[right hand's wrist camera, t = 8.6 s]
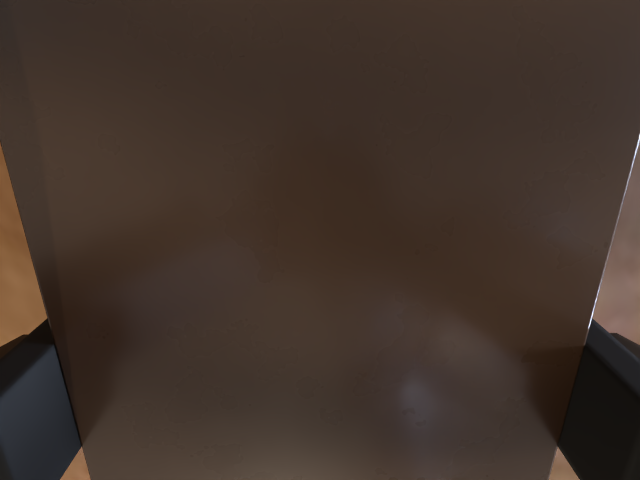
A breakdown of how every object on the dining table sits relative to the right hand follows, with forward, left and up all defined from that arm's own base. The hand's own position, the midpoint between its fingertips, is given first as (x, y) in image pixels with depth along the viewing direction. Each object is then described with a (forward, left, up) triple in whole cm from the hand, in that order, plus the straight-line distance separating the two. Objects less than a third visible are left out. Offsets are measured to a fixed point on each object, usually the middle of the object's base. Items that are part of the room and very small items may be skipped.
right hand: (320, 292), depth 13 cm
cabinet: (+1, -7, -4) cm, 8 cm away
